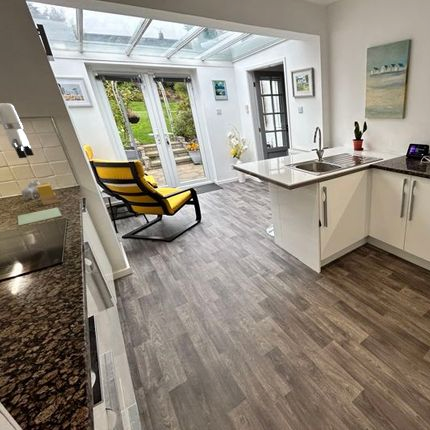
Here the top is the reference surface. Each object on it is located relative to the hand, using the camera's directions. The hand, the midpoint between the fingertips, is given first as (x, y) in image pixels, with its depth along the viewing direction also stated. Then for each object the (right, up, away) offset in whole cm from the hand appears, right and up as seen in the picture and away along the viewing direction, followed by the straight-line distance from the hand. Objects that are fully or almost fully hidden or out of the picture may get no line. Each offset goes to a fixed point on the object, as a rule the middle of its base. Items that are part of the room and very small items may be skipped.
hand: (26, 156), depth 157 cm
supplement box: (-2, -24, +16) cm, 29 cm away
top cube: (+8, -23, +4) cm, 24 cm away
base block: (+8, -27, +6) cm, 29 cm away
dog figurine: (-14, -24, +18) cm, 33 cm away
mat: (+25, -36, -16) cm, 46 cm away
